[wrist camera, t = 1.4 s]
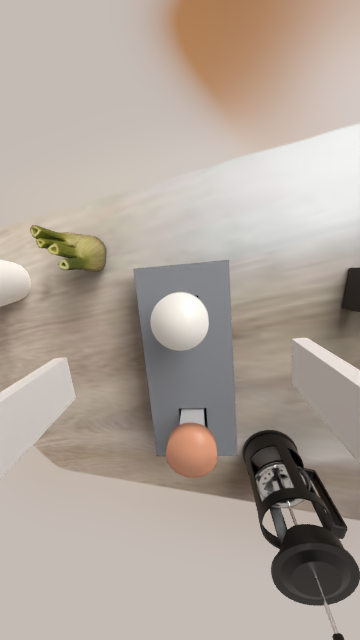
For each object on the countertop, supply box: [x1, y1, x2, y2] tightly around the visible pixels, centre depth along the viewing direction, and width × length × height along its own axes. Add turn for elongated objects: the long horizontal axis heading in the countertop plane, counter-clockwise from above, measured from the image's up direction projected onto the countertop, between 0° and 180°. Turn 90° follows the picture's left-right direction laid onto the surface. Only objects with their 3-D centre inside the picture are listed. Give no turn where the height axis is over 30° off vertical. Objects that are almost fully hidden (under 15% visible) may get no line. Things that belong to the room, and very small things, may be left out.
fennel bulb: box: [30, 225, 106, 271], centre depth 30 cm, size 6×5×12 cm
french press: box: [243, 430, 360, 640], centre depth 30 cm, size 12×9×23 cm
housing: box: [133, 260, 237, 456], centre depth 35 cm, size 12×28×7 cm, turn 5°
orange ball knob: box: [166, 408, 217, 478], centre depth 31 cm, size 6×6×8 cm
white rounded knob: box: [150, 292, 209, 351], centre depth 27 cm, size 6×6×8 cm
